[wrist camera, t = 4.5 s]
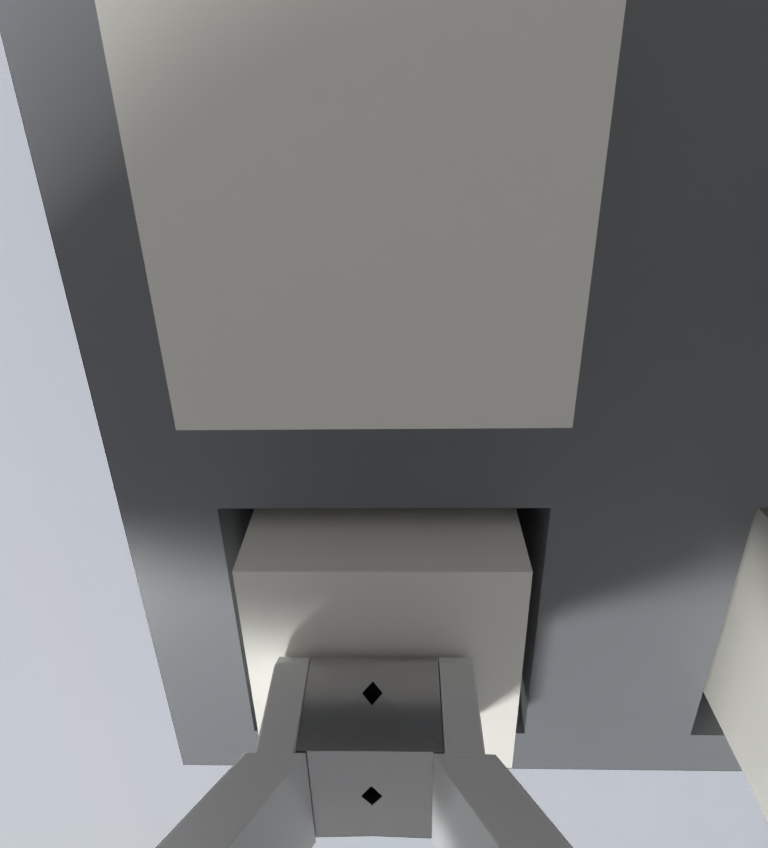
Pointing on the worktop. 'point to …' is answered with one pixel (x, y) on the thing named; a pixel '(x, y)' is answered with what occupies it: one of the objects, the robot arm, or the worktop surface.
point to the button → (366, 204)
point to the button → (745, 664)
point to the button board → (484, 447)
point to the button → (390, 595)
